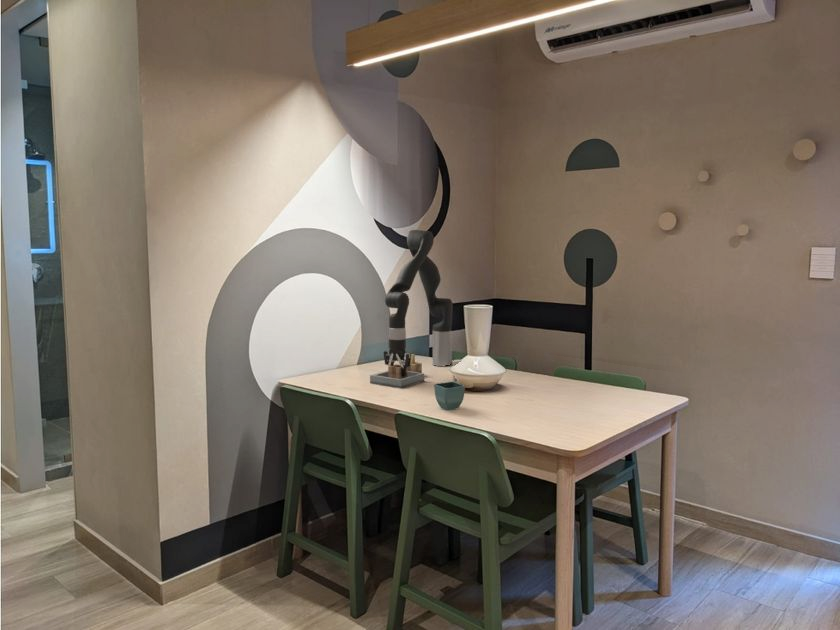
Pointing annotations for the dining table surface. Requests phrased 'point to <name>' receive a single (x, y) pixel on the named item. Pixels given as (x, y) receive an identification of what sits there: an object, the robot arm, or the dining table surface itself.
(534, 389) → the dining table surface
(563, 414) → the dining table surface
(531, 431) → the dining table surface
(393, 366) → the bored block
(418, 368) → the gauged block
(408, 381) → the tray
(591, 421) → the dining table surface
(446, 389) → the flower pot
